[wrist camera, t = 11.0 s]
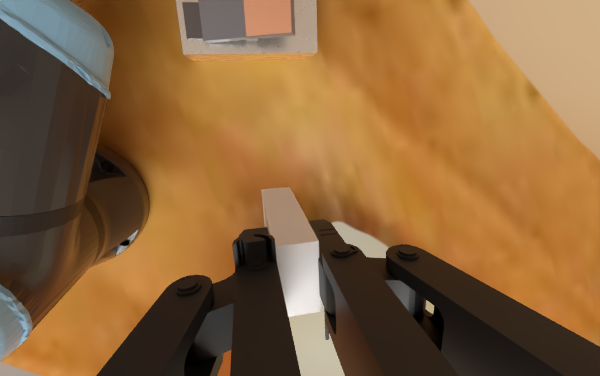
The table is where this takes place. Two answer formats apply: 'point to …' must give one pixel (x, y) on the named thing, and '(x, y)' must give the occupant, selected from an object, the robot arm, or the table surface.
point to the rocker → (246, 19)
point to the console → (262, 49)
